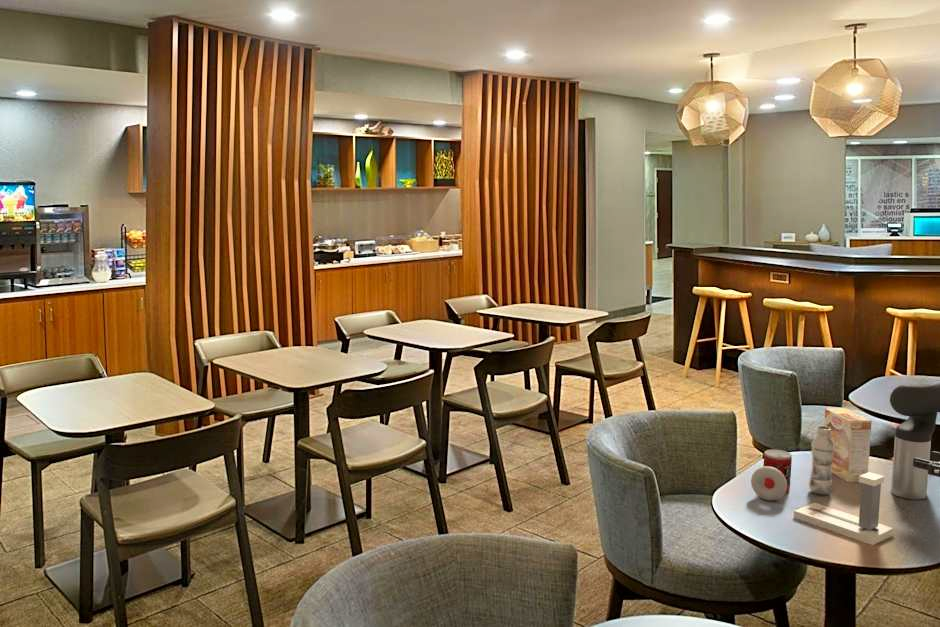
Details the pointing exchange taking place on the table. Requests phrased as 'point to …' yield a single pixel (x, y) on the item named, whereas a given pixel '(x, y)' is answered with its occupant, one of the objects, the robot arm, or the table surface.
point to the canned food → (778, 465)
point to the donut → (772, 474)
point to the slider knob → (870, 500)
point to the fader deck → (842, 523)
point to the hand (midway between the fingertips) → (922, 458)
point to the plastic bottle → (822, 461)
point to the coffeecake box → (849, 442)
